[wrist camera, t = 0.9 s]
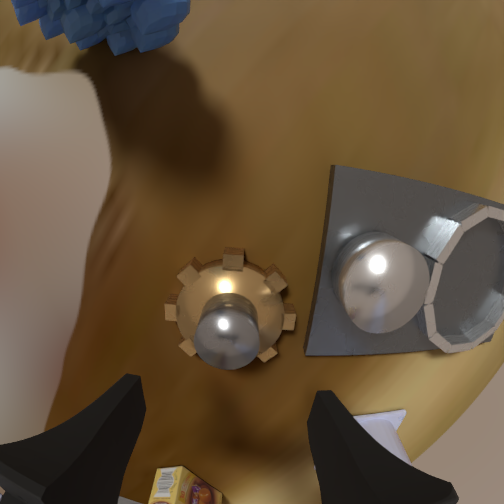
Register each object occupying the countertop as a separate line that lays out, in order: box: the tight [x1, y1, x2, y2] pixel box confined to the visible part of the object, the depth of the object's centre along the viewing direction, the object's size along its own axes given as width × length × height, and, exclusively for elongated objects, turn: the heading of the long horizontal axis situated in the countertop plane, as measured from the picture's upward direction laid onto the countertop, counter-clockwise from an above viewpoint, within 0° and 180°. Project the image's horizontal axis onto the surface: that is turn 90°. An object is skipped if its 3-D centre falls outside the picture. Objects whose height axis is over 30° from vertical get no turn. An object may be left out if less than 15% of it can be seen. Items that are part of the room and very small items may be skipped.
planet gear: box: [165, 247, 296, 370], centre depth 18 cm, size 8×8×4 cm
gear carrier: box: [303, 165, 504, 355], centre depth 17 cm, size 13×20×4 cm, turn 85°
